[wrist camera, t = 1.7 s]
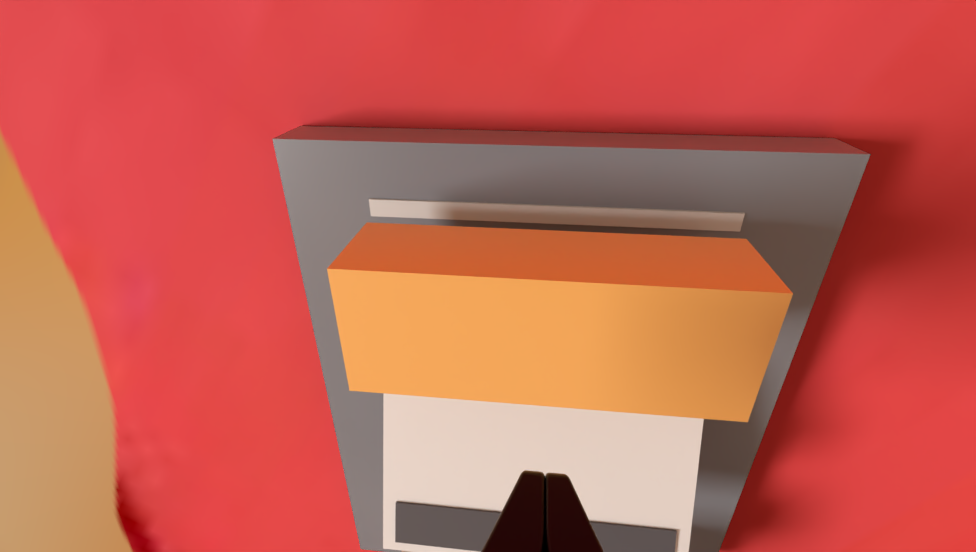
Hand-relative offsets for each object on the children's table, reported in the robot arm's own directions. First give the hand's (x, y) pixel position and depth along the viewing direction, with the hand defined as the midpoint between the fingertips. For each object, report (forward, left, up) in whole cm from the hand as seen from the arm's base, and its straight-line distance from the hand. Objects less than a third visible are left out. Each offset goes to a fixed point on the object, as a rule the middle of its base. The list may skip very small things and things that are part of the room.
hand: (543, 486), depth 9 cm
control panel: (0, +7, -11) cm, 13 cm away
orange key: (0, 0, -7) cm, 7 cm away
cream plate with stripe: (0, +7, -6) cm, 9 cm away
